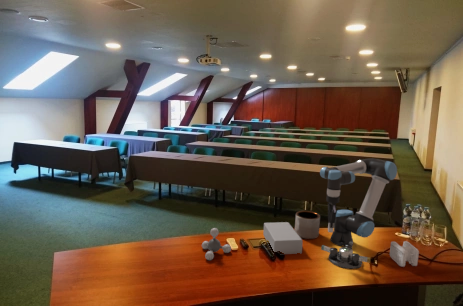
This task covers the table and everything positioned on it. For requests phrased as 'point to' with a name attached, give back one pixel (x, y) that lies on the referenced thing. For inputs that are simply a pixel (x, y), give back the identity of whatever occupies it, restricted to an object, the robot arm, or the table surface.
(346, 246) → the screw
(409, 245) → the cable organizer
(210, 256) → the molecule model
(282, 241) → the box
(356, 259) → the screw
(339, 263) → the tribrach base
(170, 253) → the table surface
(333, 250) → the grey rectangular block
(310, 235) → the planter
